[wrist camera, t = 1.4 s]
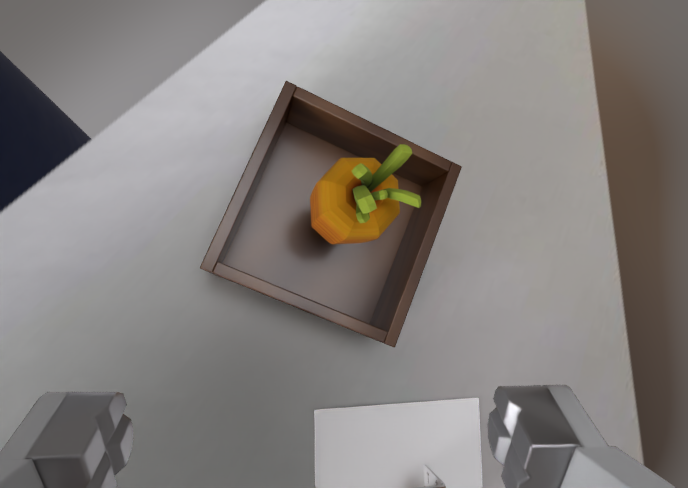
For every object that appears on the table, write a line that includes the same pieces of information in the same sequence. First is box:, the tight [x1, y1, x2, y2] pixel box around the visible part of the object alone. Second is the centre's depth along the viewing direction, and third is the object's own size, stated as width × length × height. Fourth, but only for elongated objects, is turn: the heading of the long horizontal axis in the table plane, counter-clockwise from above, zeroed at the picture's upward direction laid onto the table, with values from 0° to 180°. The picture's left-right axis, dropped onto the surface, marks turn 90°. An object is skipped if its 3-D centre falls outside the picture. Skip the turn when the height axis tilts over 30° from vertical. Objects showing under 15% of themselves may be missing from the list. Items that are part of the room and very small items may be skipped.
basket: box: [200, 81, 461, 347], centre depth 33 cm, size 14×14×6 cm
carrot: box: [310, 144, 421, 244], centre depth 28 cm, size 5×5×15 cm
